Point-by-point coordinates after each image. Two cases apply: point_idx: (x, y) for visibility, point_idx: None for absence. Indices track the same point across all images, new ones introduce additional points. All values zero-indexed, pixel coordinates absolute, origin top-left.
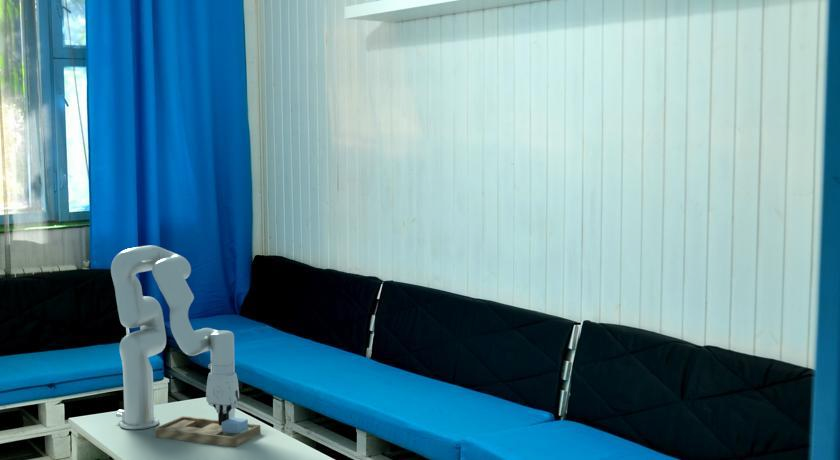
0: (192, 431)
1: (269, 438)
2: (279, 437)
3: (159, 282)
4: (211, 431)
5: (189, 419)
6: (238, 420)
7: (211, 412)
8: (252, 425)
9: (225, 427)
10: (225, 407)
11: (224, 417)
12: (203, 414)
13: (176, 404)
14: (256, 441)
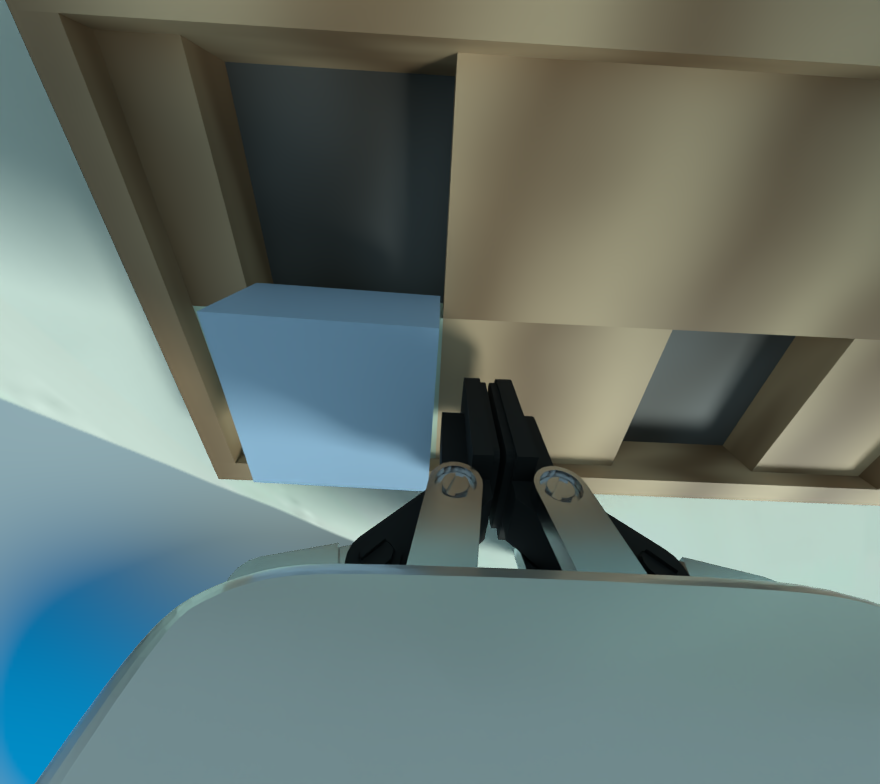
0: (758, 196)
1: (112, 372)
2: (81, 407)
3: None
4: (541, 266)
5: (812, 478)
6: (308, 438)
7: None
8: None
9: (389, 306)
10: (430, 544)
11: (463, 441)
12: None
13: None
14: (119, 280)
